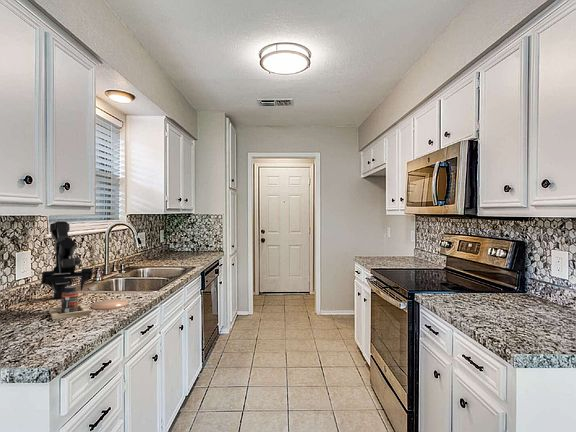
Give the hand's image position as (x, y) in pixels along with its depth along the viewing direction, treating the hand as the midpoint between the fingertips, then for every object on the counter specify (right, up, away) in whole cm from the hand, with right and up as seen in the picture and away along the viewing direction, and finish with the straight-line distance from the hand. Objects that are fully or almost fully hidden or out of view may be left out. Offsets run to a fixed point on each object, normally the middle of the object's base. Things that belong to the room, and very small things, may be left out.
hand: (69, 291), depth 151 cm
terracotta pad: (+11, -9, +12) cm, 19 cm away
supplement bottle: (+1, -9, -1) cm, 9 cm away
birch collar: (+1, -9, -1) cm, 9 cm away
